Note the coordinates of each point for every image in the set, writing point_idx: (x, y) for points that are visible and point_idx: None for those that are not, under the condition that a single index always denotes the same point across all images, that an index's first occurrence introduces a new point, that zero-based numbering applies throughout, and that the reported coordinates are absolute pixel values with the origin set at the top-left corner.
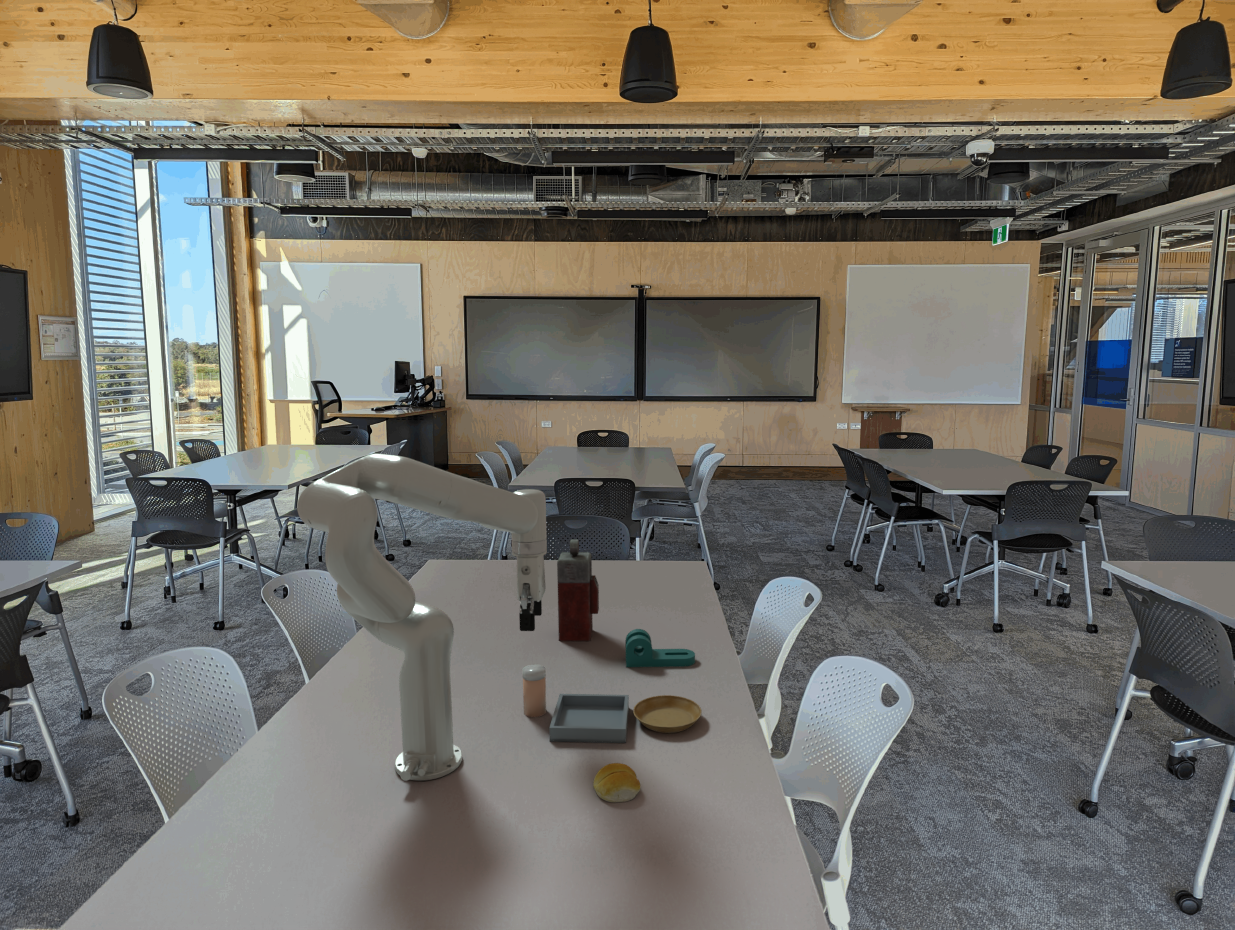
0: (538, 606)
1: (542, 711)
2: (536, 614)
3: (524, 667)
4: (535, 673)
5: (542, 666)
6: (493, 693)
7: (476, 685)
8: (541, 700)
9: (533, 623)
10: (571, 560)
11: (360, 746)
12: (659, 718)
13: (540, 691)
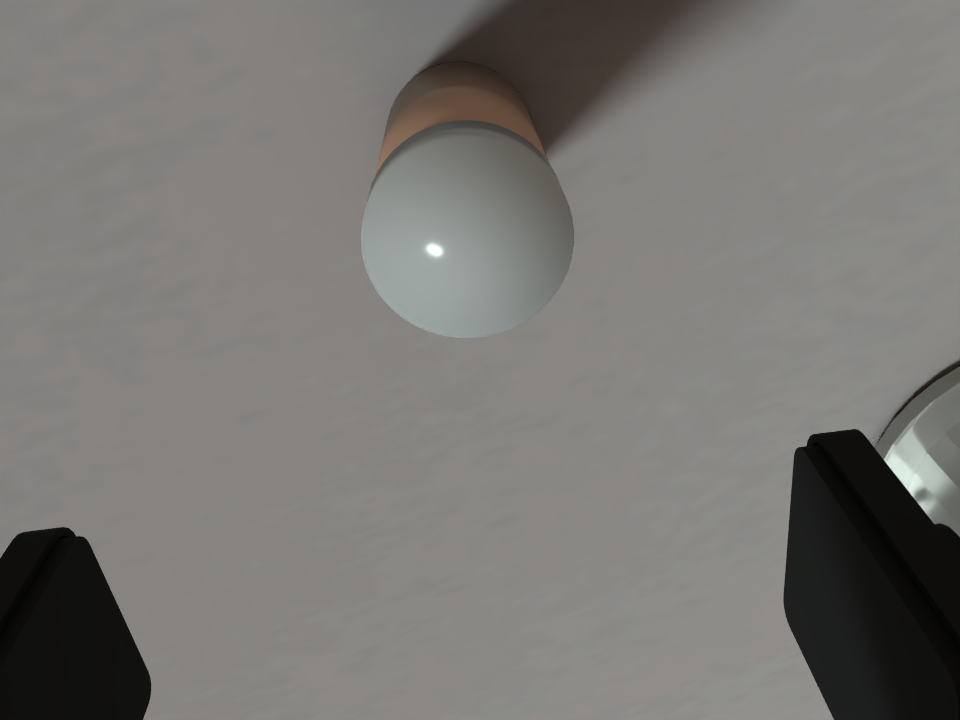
0: (23, 691)
1: (501, 79)
2: (100, 595)
3: (447, 330)
4: (564, 201)
5: (398, 182)
6: (279, 438)
7: (212, 544)
8: (513, 100)
9: (911, 520)
10: None
11: None
12: None
13: (524, 121)
